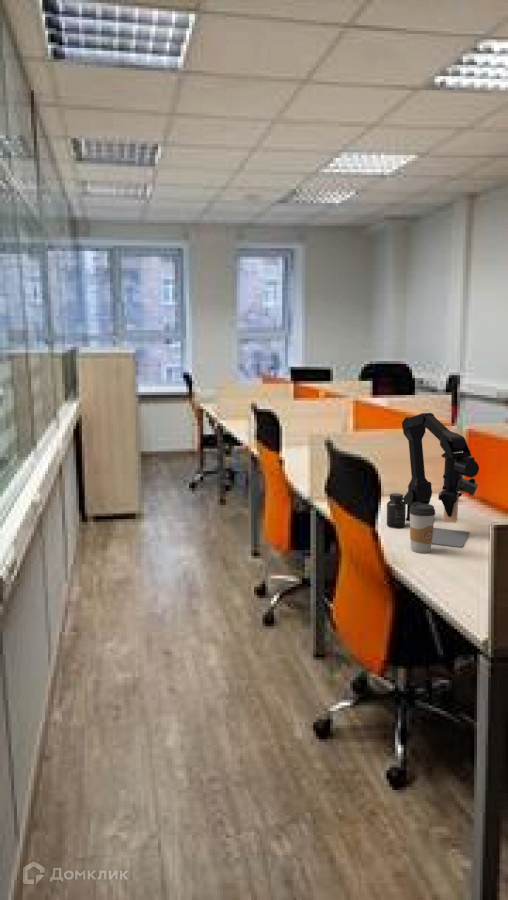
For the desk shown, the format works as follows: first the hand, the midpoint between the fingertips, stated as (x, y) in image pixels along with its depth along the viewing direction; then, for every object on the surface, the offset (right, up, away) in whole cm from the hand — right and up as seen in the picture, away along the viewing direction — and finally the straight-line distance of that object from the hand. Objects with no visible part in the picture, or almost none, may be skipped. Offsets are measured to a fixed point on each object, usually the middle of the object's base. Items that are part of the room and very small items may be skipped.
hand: (450, 515), depth 238 cm
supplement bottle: (-17, -5, +12) cm, 21 cm away
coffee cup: (-15, -10, -16) cm, 24 cm away
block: (0, -2, 0) cm, 2 cm away
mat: (-2, -8, -3) cm, 8 cm away
